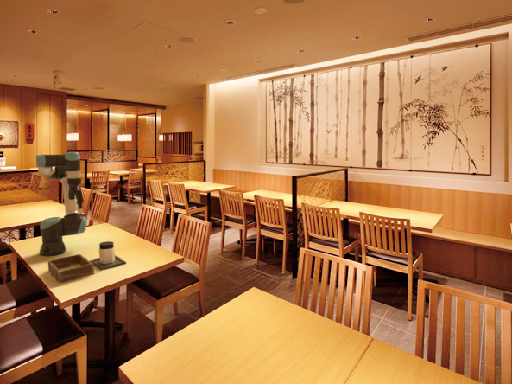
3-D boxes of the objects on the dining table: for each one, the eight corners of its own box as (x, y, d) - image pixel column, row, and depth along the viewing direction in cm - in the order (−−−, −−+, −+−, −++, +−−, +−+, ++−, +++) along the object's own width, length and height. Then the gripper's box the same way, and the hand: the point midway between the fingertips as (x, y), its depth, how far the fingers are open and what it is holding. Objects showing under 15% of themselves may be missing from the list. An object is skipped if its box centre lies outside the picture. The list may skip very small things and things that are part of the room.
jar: (100, 265, 198) (99, 246, 196) (98, 260, 204) (97, 242, 202) (116, 262, 202) (115, 243, 200) (114, 258, 209) (112, 240, 207)
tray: (90, 262, 204) (89, 260, 204) (114, 256, 214) (114, 254, 214) (101, 270, 191) (100, 268, 191) (126, 263, 202) (126, 261, 202)
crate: (48, 270, 190) (47, 261, 189) (80, 263, 202) (79, 253, 201) (59, 283, 174) (58, 272, 173) (93, 273, 186) (93, 263, 185)
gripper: (60, 176, 203) (63, 209, 207) (73, 180, 186) (76, 216, 190) (73, 175, 209) (76, 207, 212) (87, 179, 192) (90, 214, 195)
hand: (76, 211), depth 201 cm, fingers open, 13 cm apart
